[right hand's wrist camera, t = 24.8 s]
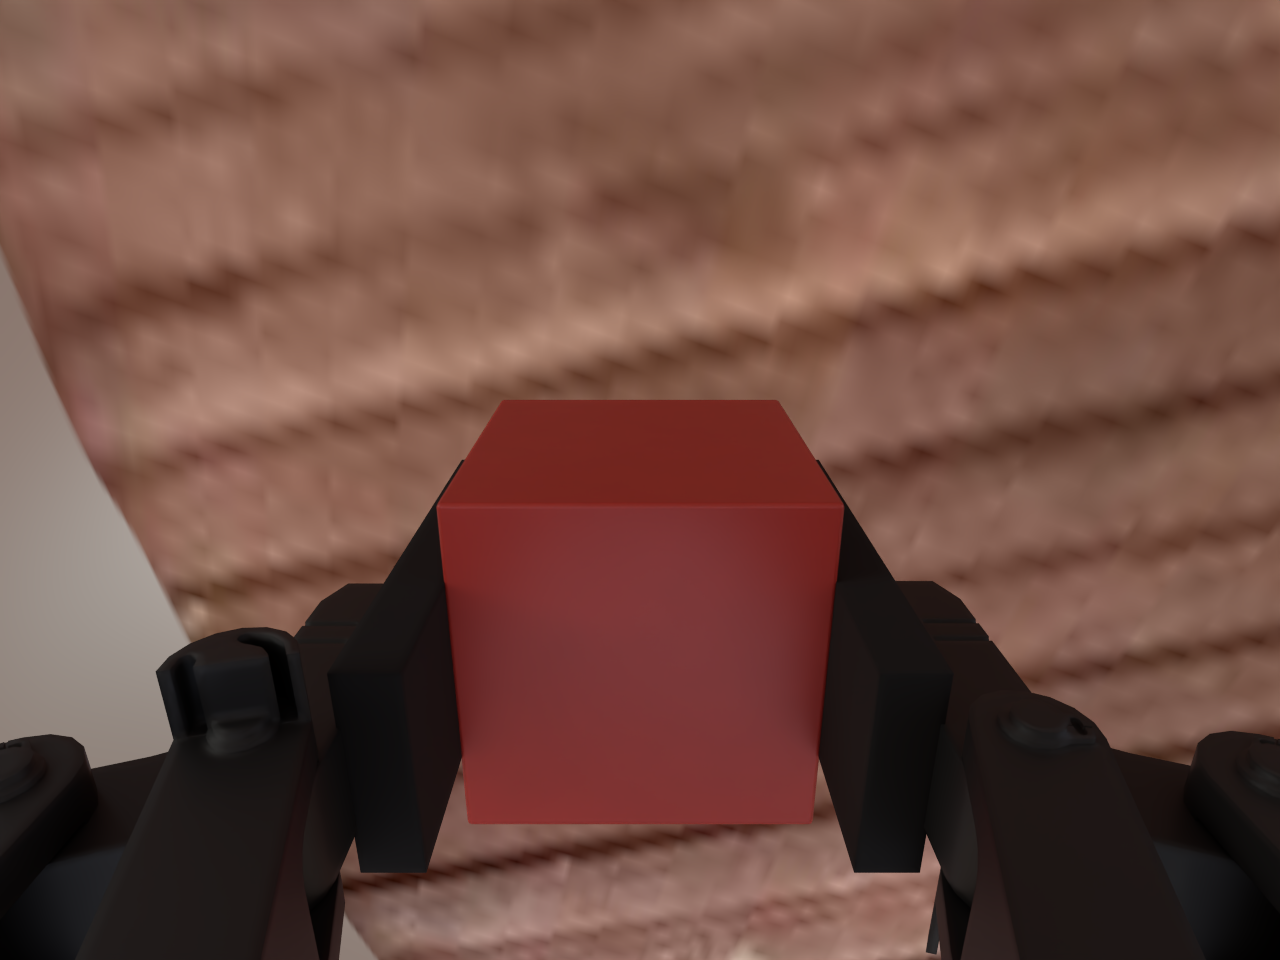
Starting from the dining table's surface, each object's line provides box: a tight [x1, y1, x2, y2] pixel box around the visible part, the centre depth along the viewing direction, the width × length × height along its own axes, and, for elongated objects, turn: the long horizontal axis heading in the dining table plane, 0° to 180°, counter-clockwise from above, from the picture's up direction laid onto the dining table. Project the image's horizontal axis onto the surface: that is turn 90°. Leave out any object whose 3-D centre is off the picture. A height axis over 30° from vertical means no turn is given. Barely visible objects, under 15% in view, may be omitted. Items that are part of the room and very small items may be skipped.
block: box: [437, 400, 844, 824], centre depth 13 cm, size 5×5×5 cm
